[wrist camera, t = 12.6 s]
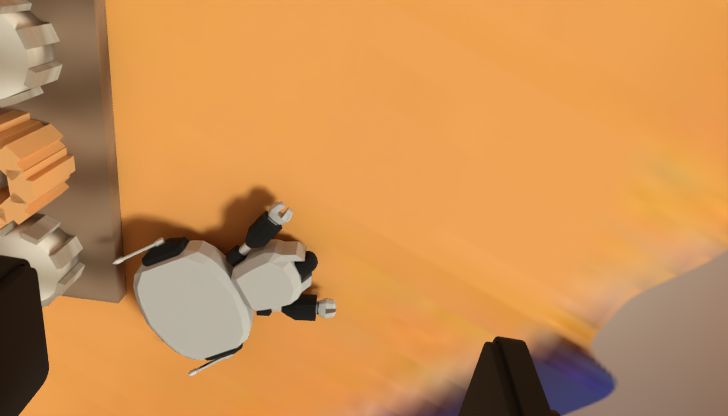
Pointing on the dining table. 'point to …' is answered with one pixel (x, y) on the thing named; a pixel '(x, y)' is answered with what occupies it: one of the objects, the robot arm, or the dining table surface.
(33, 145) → the orange gear
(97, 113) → the gear board
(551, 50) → the dining table surface
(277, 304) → the robot toy
